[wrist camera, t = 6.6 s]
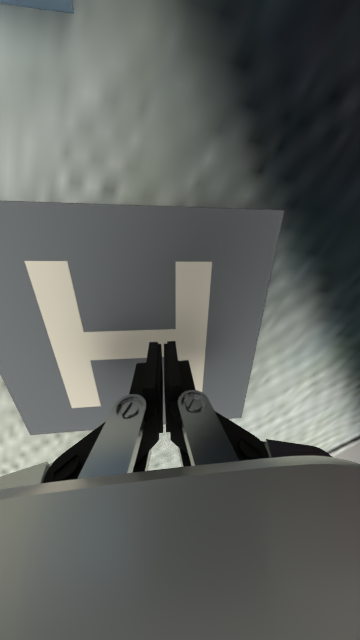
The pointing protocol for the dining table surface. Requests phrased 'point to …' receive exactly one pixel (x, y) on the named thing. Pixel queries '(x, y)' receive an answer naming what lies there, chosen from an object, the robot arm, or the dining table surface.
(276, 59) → the dining table surface
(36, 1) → the cube
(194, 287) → the letter mat
